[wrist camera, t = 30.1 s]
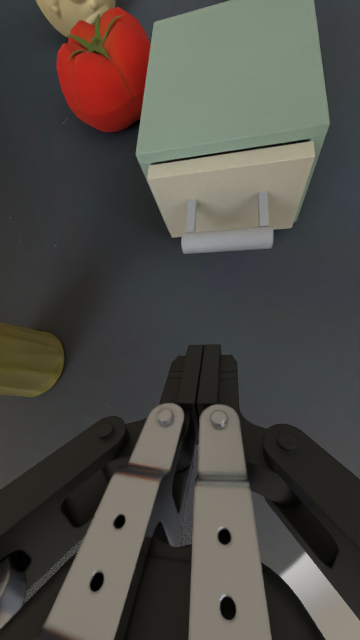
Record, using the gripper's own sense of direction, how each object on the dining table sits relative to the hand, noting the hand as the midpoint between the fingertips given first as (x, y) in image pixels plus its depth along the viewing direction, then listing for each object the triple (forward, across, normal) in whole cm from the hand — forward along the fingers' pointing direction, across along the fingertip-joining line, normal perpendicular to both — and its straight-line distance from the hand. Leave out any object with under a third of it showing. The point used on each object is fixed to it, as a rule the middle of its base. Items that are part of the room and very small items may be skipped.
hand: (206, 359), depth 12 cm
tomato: (+28, +11, -16) cm, 34 cm away
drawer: (+17, -1, -6) cm, 18 cm away
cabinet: (+20, -2, -8) cm, 22 cm away
